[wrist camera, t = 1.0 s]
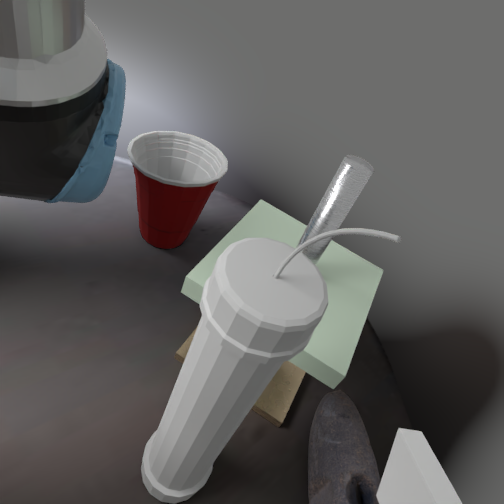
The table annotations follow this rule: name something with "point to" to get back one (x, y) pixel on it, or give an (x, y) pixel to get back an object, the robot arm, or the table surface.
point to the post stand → (324, 219)
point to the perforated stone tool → (340, 455)
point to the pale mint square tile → (338, 287)
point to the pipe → (235, 355)
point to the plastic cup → (173, 183)
